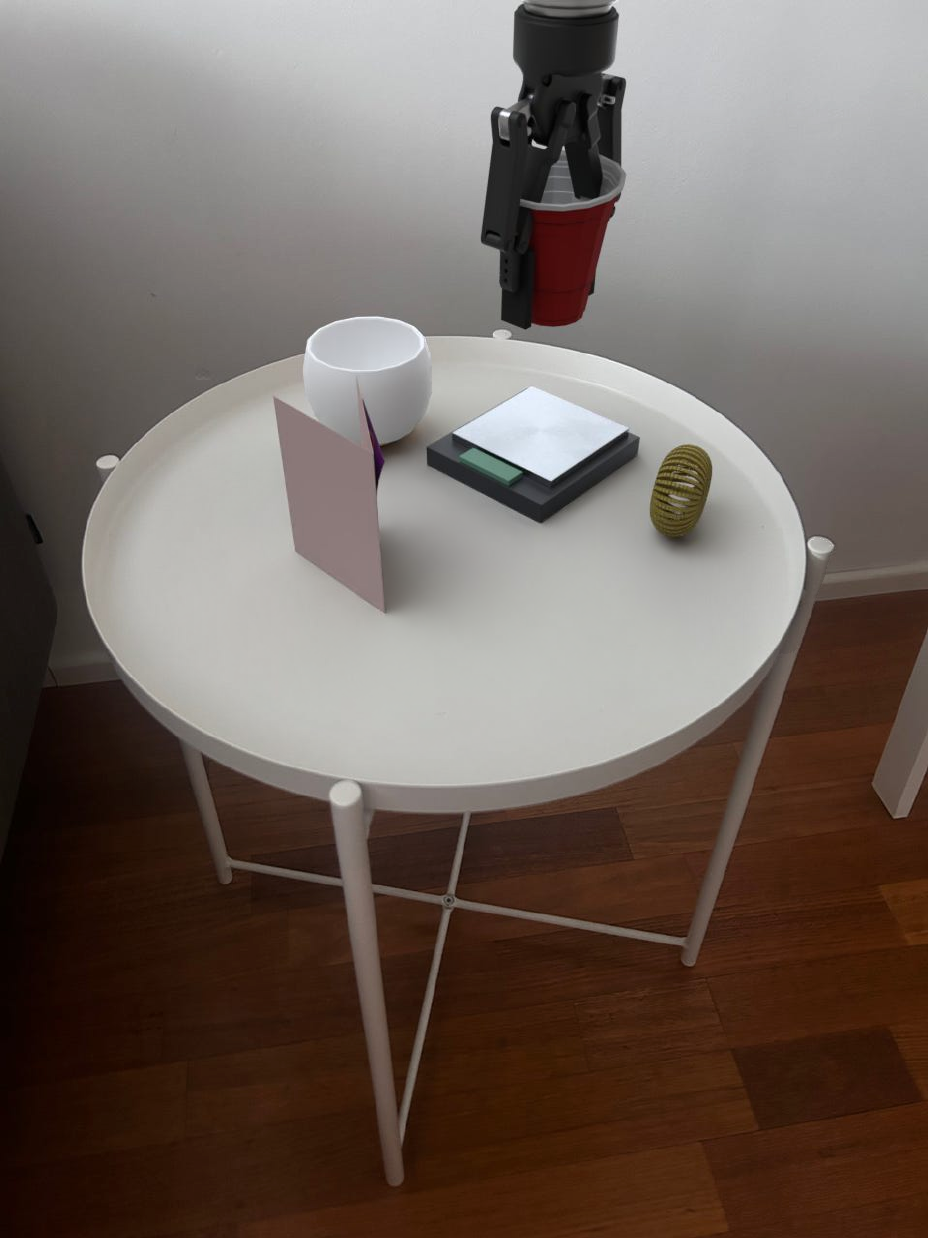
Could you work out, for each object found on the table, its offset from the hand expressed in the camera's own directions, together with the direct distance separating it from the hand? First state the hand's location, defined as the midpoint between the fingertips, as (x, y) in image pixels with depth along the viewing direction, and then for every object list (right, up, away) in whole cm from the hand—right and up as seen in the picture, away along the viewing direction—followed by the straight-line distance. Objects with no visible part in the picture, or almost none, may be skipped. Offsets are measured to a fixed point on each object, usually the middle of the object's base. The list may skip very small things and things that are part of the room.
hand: (548, 305), depth 87 cm
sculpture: (+11, -19, +2) cm, 22 cm away
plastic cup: (0, -1, +1) cm, 1 cm away
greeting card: (-17, -23, -3) cm, 29 cm away
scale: (-1, -12, +10) cm, 15 cm away
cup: (-16, -9, +14) cm, 23 cm away
